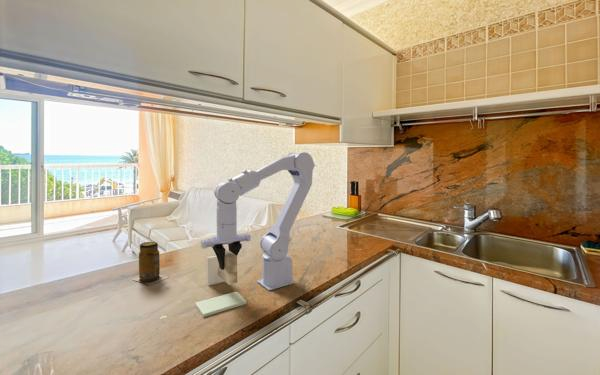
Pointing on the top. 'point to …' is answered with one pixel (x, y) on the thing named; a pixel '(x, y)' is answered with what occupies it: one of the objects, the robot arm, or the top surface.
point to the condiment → (149, 264)
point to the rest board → (220, 303)
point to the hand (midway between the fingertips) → (226, 267)
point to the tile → (213, 271)
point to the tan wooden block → (229, 268)
